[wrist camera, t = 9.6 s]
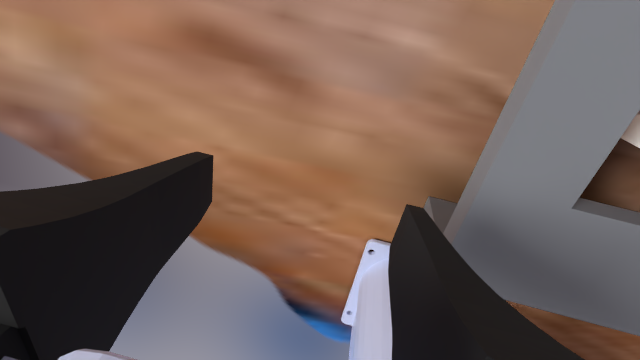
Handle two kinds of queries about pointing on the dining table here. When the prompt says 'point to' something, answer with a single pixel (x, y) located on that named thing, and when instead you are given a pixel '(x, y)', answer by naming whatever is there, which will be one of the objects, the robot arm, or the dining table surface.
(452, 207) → the shelf
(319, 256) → the dining table surface
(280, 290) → the dining table surface
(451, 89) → the dining table surface
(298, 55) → the dining table surface
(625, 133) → the white rectangular prism
